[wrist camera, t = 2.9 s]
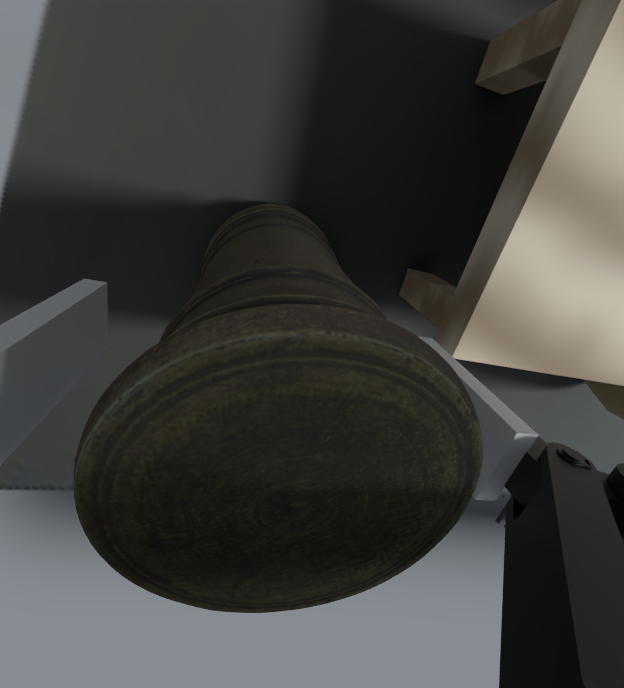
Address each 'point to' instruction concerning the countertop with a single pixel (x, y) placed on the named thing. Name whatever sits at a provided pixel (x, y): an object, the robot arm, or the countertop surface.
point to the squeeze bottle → (609, 396)
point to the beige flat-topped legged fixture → (548, 209)
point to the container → (276, 435)
